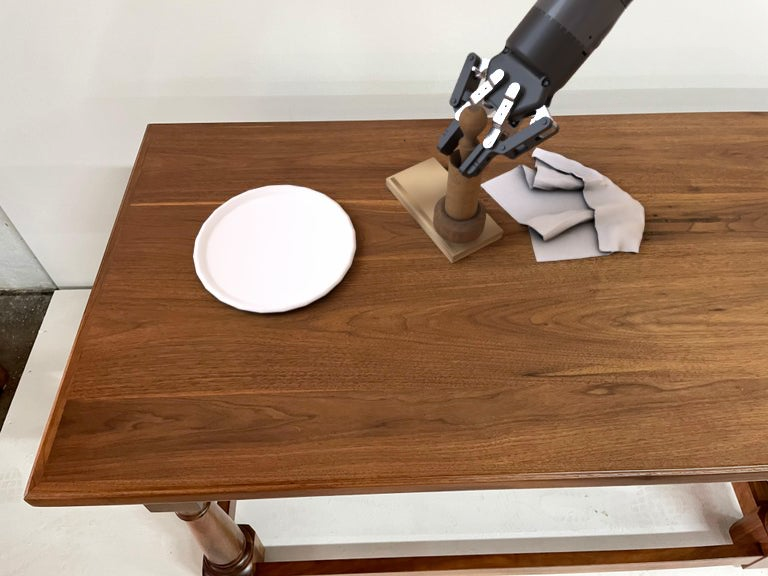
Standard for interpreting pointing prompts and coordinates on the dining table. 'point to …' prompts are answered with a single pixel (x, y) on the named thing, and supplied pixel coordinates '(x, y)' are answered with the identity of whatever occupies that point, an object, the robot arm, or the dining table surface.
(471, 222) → the mortar and pestle
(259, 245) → the plate
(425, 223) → the cutting board
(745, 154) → the dining table surface
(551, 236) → the cloth
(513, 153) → the robot arm
